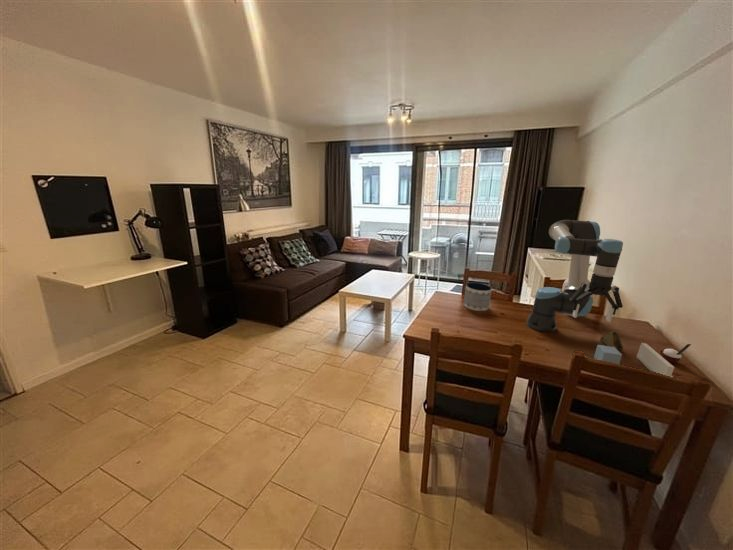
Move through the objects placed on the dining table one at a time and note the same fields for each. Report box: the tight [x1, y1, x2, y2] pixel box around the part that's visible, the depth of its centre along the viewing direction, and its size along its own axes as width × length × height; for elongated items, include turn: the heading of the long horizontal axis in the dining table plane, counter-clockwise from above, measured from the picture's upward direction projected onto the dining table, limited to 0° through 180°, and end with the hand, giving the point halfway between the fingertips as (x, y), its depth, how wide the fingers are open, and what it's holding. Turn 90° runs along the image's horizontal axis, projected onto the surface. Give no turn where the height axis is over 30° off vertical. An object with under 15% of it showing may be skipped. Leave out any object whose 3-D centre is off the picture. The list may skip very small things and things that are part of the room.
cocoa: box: [660, 343, 692, 364], centre depth 142 cm, size 10×6×12 cm, turn 165°
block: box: [593, 344, 623, 365], centre depth 141 cm, size 7×7×7 cm
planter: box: [463, 282, 493, 312], centre depth 199 cm, size 16×16×14 cm
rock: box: [600, 329, 624, 353], centre depth 156 cm, size 11×9×10 cm
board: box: [636, 342, 675, 377], centre depth 136 cm, size 6×20×8 cm, turn 164°
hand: (590, 318), depth 138 cm, fingers open, 13 cm apart
